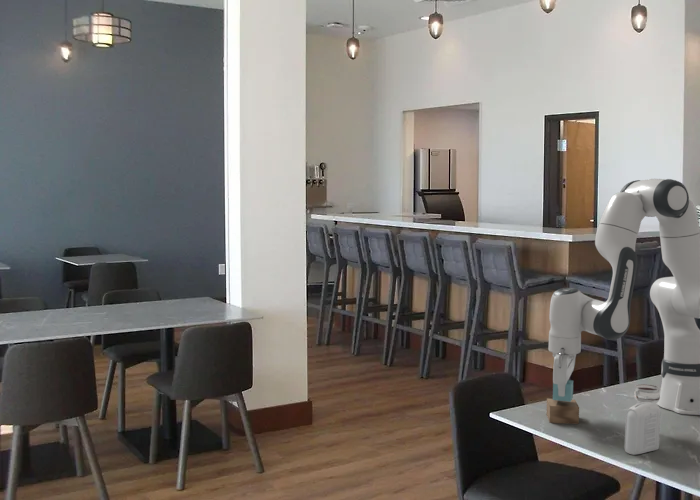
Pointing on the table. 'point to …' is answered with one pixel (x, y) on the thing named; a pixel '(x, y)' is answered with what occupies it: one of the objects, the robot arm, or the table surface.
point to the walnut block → (562, 411)
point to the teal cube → (568, 392)
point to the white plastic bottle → (642, 428)
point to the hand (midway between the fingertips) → (563, 393)
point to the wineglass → (646, 393)
